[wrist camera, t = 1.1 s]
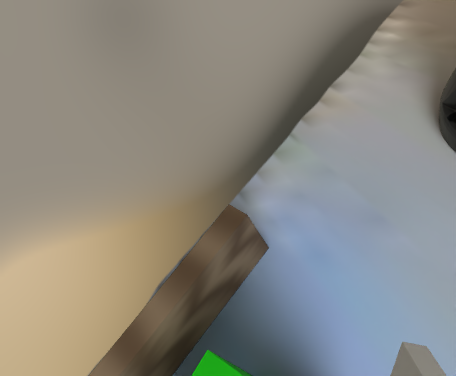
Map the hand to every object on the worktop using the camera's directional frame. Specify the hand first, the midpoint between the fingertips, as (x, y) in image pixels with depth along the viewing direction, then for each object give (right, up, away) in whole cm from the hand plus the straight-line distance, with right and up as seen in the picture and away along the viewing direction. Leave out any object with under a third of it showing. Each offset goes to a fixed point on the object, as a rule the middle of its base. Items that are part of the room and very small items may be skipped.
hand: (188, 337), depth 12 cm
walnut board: (-5, -12, +26) cm, 29 cm away
